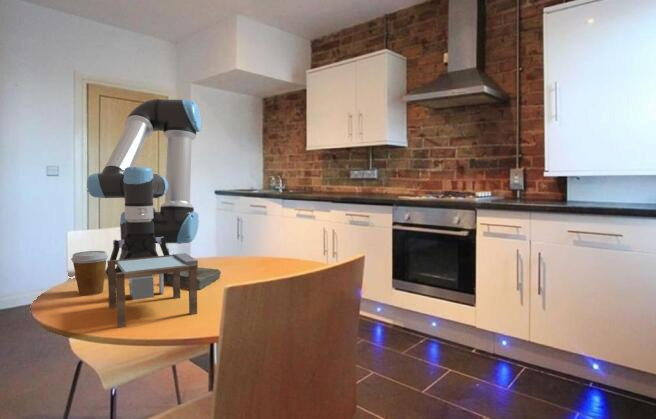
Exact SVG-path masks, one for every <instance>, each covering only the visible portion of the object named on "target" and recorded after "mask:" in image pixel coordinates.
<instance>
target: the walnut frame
mask: <svg viewBox="0 0 656 419" xmlns="http://www.w3.org/2000/svg"><path fill="white" fill-rule="evenodd" d="M174 254H175V253H173V254H169V255H165V256H164V255H158V256H155V257H144V258H133V259H123V260H119V259H116V260H110V259H108V260H107V267H108V275H107V280H108V281H107V283H108V284H107V286H108V287H107V288H108V291H107V292H108V307H109V309H114V308H116V325H117V328H119V329H120V328H124V327H127V321H126V320H127V319H126V287H125V286H126V284H125V283H126V282H125V281H126V280H125V279H127V278H128V279H129V278H130V277H138V276H147V275H152V276H154V275H159V274H163V273H172V272H173V286H172V288H173V289H172V292H173V293H172V296H173V298H174V299H179V298H181V287H180V271H189V289H188V311H189V312H188V313H189V314H190V315H191V316H192V315H197V314H198V290H197V265H195V264H192V265H188V266H180V267H171V268H162V269H154V270H145V271H136V272H127V273H124V272H119V273H116V276H115V269H116V266H117V265H118V264H117V261H128V260H138V259H148V258H159V257H169V256H174Z"/></svg>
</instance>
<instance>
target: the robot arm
mask: <svg viewBox="0 0 656 419" xmlns="http://www.w3.org/2000/svg"><path fill="white" fill-rule="evenodd" d="M124 126H125V128H124V130H123V132H122V134H121V136H120V138H119V139H118V141H117V143H116V145H115V146H114V149H113V151H112V152H111V155H109V159H108V160H107V163H105V166H104V168H103V169H102V171H101V173H99V172H97V173H91V174H90V175H89V176H88V179H87V182H86V188H87V191H88V193H89V195H90V196H91V197H93V198H99V199H100V198H101V199H124V211H123V212H122V213H121V214H120V222H119V228H120V229H119V230H120V239H118V240H117V239H114V240H113V241H112V244H113V247H112V248H113V249H112V251H111V255H110V258H109V260H123V259H133V258H144V257H155V256H159V253H158V251H157V244H158V245H159V246H160V250H161V252H162V256H165V255H170V253H169V250H168V248H167V244H177V245H181V244H190V243H191V242H193V241H194V240H195V239H196V236H197V233H198V229H199V222H200V221H199V213H198V212H197V211H195V210H194V208H195V207H194V206H193V205H192V204H191V203H190V202H191V201H190V200H191V199H190V198H191V197H190V196H191V195H190V194H191V175H192V174H191V173H192V146H193V145H192V143H193V141H194V139H195V138H196V137H197V133H199V132H201V131H202V128H203V127H202V117H201V113H200V109H199V106H198V104H197V103H196V101H194V100H190V99H189V100H188V99H163V98H162V99H159V98H157V99H156V98H154V99H149V100H146V101H144V102H143V103H141V104H138V105H137V106H136V107H135V108H134V109H133V110H132V111H131V112H130V113H129V114H128V115H127V117H126V119H125V122H124ZM157 131H159V132H163V136H165V138H166V139H167V141H166V142H167V144H166V149H167V150H166V168H165V169H166V172H165V177H164V176H162V175H160V174H159V173H153V169H152V168H151V167H147V166H135V165H136V162H137V160H138V158H139V156H140V154H141V151H142V149H143V147H144V145H145V143H146V142H147V141H146V140H147V139H148V138H149V137H151V136H152V134H153V133H154V132H157ZM163 196H165V197H164V199H165V200H164V202H163V204H161V205H160V209H159V210H160V211H157V210H156V209H155V207H154V199H159V198H161V197H163ZM120 249H121V250H120ZM119 251H120V252H121V253H120V255H119ZM118 255H119V257H118ZM117 258H118V259H117ZM119 272H122V271H121V269H120V268H119V267H118V265H116V266H115V276H116V273H119ZM105 275H107V276H108V266H107V267H106V269H105ZM166 281H167V273H163V274H158V288H159V289H158V291H159V293H160V294H164V293H165V286H164V284H165V283H166Z"/></svg>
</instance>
